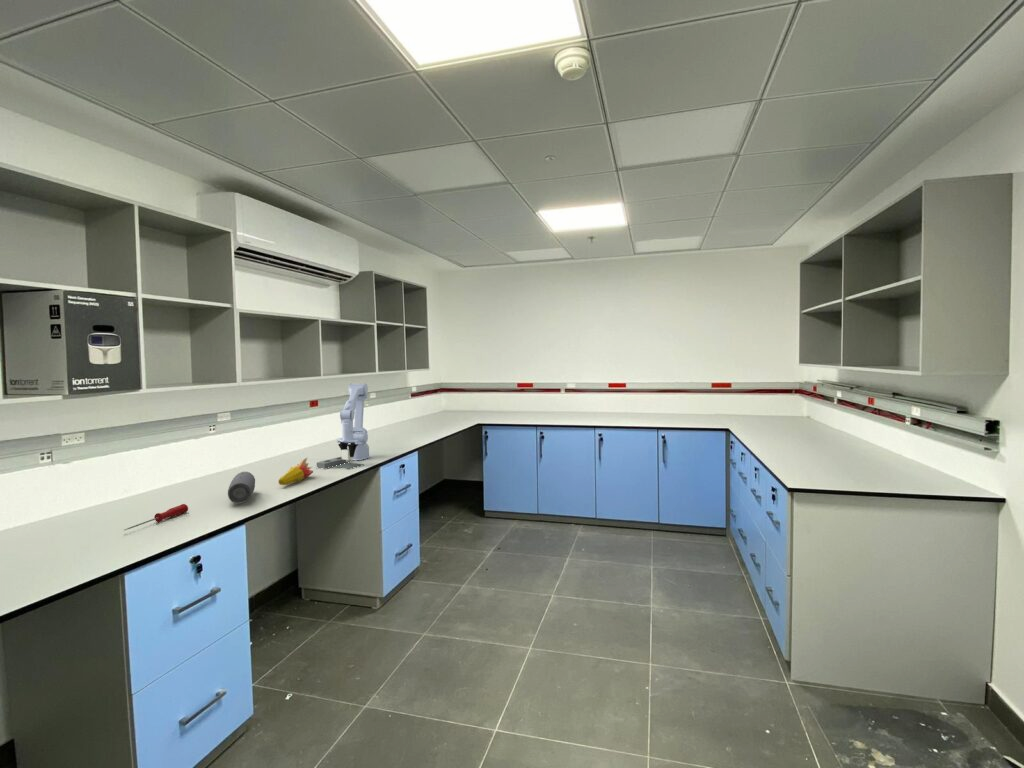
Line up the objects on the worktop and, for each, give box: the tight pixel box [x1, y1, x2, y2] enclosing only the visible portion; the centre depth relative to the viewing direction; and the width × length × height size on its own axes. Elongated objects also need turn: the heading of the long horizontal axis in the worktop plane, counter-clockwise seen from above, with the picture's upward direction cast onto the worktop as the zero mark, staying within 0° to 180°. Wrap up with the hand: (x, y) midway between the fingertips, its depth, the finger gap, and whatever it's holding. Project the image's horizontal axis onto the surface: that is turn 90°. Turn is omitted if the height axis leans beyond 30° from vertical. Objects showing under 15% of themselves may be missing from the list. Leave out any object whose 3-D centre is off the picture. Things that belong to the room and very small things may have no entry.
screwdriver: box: [123, 503, 189, 531], centre depth 177 cm, size 4×25×4 cm, turn 170°
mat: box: [332, 462, 364, 470], centre depth 268 cm, size 11×11×1 cm
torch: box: [277, 457, 314, 486], centre depth 235 cm, size 8×8×25 cm
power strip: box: [316, 455, 351, 469], centre depth 272 cm, size 18×6×4 cm, turn 154°
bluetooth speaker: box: [227, 471, 256, 504], centre depth 206 cm, size 23×9×10 cm, turn 24°
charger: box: [341, 448, 355, 462], centre depth 268 cm, size 5×4×6 cm
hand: (348, 456), depth 268 cm, fingers closed on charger, 4 cm apart
